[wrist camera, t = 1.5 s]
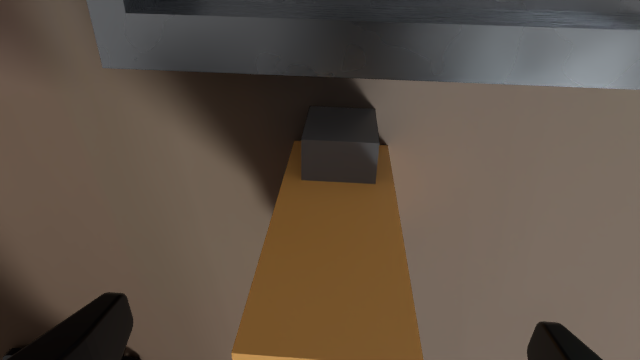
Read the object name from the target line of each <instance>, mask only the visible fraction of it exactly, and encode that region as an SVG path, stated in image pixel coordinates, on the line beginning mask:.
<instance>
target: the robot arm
mask: <svg viewBox="0 0 640 360" xmlns="http://www.w3.org/2000/svg"><path fill="white" fill-rule="evenodd" d="M132 327H133V317H132V313H131V310H130V306H129V303H128V299H127V297H126V295H125V294H123V293H112V292H108V293H104V294H102V295H101V296H99V297H98V298H96V299H95V300H93V301H92V302H91V303H89V304H88V305H86V306H85V307H83V308H82V309H80V310H79V311H77V312H76V313H74V314H73V315H71V316H70V317H68V318H67V319H65V320H64V321H63V322H61V323H60V324H58V325H57V326H55V327H54V328H52V329H51V330H49V331H48V332H46V333H45V334H43V335H42V336H40V337H39V338H37V339H36V340H35V341H33V342H32V343H30V344H29V345H27V346H26V347H24V348H23V349H22V348H12V349H10V350H9V351H8V352H7V353H6V354H5V356H4V357H3V360H138V359H136V358H134V357H127V356H123V353H124V350H125V347H126V345H127V342H128V339H129V336H130V334H131V331H132ZM527 357H528V360H602V359H601V358H600V357H599V356H598V355H597V354H596V353H594V352H593V351H592V350H591V349H590V348H589V347H587V346H586V345H585V344H584V343H583V342H582V341H580V340H579V339H578V338H577V337H576V336H575V335H573V334H572V333H571V332H570V331H569V330H568V329H567V328H565V327H564V326H563V325H561V324H560V323H556V322H539V323H538V324H537V325H536V327H535V330H534V332H533V335H532V337H531V340H530V342H529V344H528V348H527Z"/></svg>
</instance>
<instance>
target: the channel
mask: <svg viewBox="0 0 640 360" xmlns="http://www.w3.org/2000/svg"><path fill="white" fill-rule="evenodd" d="M87 5H88V9H89V13H90V17H91V21H92V25H93V30H94V34H95V38H96V42H97V46H98V50H99V54H100V59H101V63H102V67H103V68H117V69H142V70H166V71H191V72H216V73H240V74H265V75H290V76H315V77H339V78H364V79H389V80H413V81H438V82H463V83H488V84H512V85H537V86H562V87H586V88H611V89H636V90H640V0H87Z"/></svg>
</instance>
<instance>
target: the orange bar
mask: <svg viewBox="0 0 640 360" xmlns="http://www.w3.org/2000/svg"><path fill="white" fill-rule="evenodd" d="M379 144H380V143H379V135H378V127H377V120H376V112H375V109H365V108H342V107H319V106H310V108H309V112H308V116H307V119H306V123H305V127H304V131H303V135H302V138H301V141H294V143H293V147H292V150H291V154H290V157H289V160H288V164H287V167H286V170H285V174H284V177H283V181H282V184H281V187H280V191H279V194H278V197H277V201H276V204H275V208H274V211H273V214H272V218H271V221H270V224H269V228H268V231H267V235H266V238H265V241H264V245H263V248H262V251H261V255H260V258H259V262H258V265H257V268H256V272H255V275H254V278H253V282H252V285H251V289H250V292H249V295H248V299H247V302H246V306H245V309H244V312H243V316H242V319H241V322H240V326H239V329H238V333H237V336H236V339H235V343H234V346H233V349H232V353H231V354H232V360H423V355H422V349H421V343H420V337H419V331H418V325H417V319H416V313H415V307H414V301H413V295H412V289H411V283H410V277H409V271H408V265H407V259H406V253H405V247H404V241H403V235H402V229H401V223H400V217H399V211H398V205H397V199H396V193H395V187H394V181H393V175H392V169H391V163H390V157H389V151H388V145H379Z"/></svg>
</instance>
